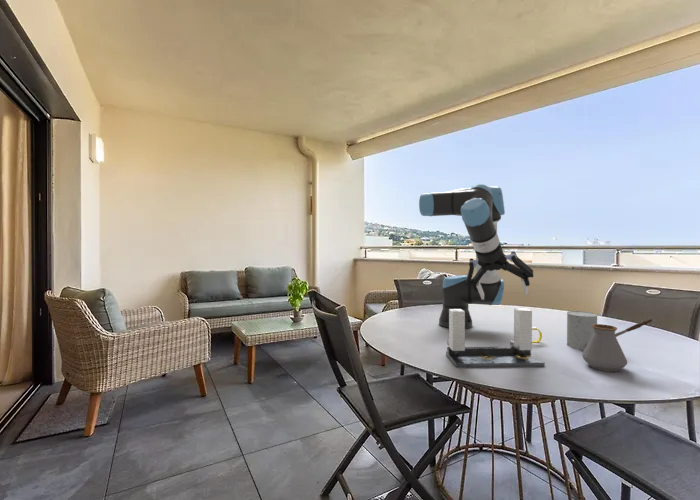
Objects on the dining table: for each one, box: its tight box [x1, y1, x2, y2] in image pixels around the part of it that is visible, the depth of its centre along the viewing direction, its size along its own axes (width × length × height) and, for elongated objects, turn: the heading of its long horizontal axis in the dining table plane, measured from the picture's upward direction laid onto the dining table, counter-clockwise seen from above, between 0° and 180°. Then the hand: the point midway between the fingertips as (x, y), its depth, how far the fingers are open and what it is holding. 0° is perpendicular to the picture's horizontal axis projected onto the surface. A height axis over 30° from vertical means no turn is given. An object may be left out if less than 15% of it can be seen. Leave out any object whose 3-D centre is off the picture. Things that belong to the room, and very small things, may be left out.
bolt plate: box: [445, 345, 546, 368], centre depth 117 cm, size 12×28×3 cm, turn 90°
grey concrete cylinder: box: [566, 310, 598, 351], centre depth 130 cm, size 10×10×12 cm
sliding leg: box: [446, 309, 466, 356], centre depth 118 cm, size 8×4×15 cm, turn 0°
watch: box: [532, 326, 543, 344], centre depth 136 cm, size 6×3×6 cm, turn 83°
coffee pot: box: [582, 318, 657, 373], centre depth 109 cm, size 21×12×15 cm, turn 90°
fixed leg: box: [509, 307, 533, 355], centre depth 118 cm, size 8×4×15 cm, turn 0°
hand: (504, 294), depth 116 cm, fingers open, 13 cm apart
